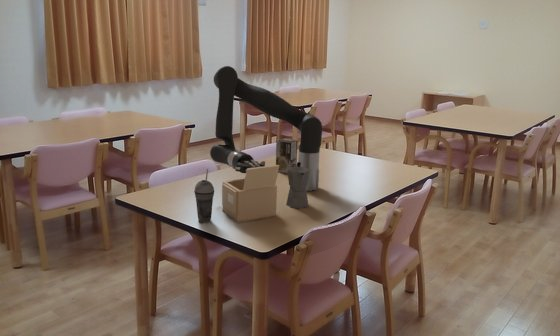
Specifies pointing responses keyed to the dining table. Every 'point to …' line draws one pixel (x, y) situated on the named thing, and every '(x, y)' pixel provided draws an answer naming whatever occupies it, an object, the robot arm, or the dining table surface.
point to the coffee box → (286, 154)
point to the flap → (261, 177)
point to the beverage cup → (204, 200)
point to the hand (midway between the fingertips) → (261, 171)
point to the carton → (248, 201)
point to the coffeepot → (297, 186)
